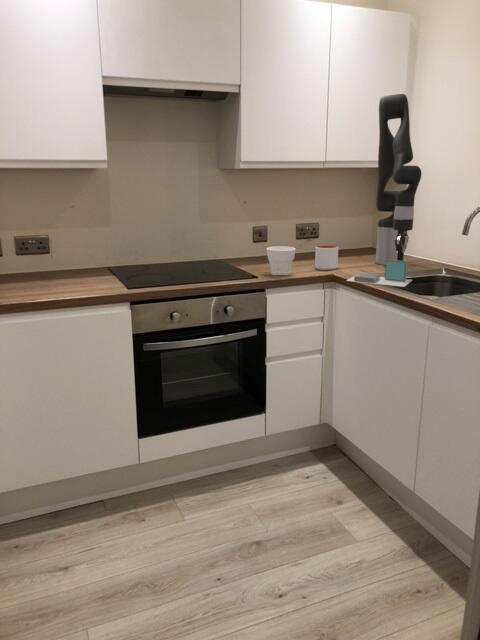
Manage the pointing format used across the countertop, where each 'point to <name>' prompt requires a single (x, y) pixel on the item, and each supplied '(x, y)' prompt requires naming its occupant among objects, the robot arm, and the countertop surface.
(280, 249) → the cup
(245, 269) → the countertop surface
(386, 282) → the mat
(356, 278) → the tile
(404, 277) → the tile
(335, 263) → the cup
